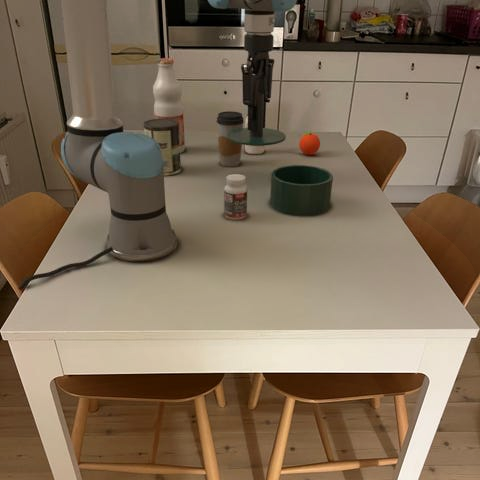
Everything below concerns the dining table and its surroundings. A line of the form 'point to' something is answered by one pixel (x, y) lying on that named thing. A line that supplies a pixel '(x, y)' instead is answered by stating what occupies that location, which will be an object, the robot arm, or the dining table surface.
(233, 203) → the pill bottle
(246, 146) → the can
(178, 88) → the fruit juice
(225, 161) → the coffee cup
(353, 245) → the dining table surface
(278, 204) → the pot
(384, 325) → the dining table surface
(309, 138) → the clementine
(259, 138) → the pot lid
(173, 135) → the coffee can
